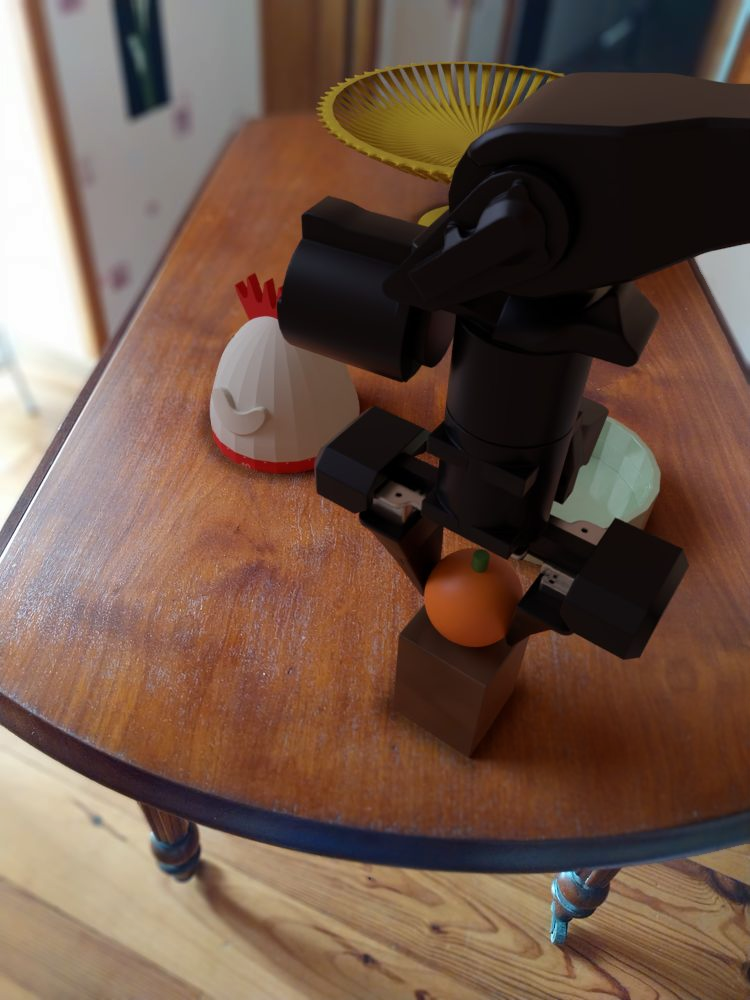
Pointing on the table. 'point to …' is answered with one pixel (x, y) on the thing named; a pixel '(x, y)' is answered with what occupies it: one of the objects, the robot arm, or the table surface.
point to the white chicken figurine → (276, 392)
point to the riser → (453, 682)
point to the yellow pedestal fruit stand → (423, 118)
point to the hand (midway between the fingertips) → (470, 615)
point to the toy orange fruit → (472, 597)
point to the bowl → (613, 482)
